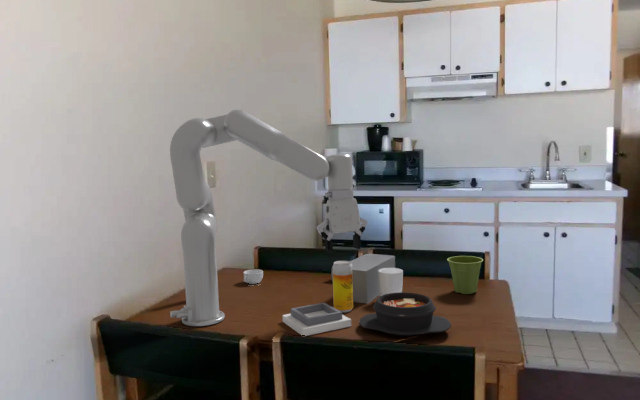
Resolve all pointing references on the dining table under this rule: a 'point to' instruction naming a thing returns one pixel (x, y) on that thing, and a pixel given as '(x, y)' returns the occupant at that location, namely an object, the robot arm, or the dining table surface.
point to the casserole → (404, 315)
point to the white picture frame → (316, 319)
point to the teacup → (253, 276)
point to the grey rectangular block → (368, 275)
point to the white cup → (390, 280)
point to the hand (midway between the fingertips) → (343, 250)
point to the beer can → (343, 286)
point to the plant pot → (465, 273)
